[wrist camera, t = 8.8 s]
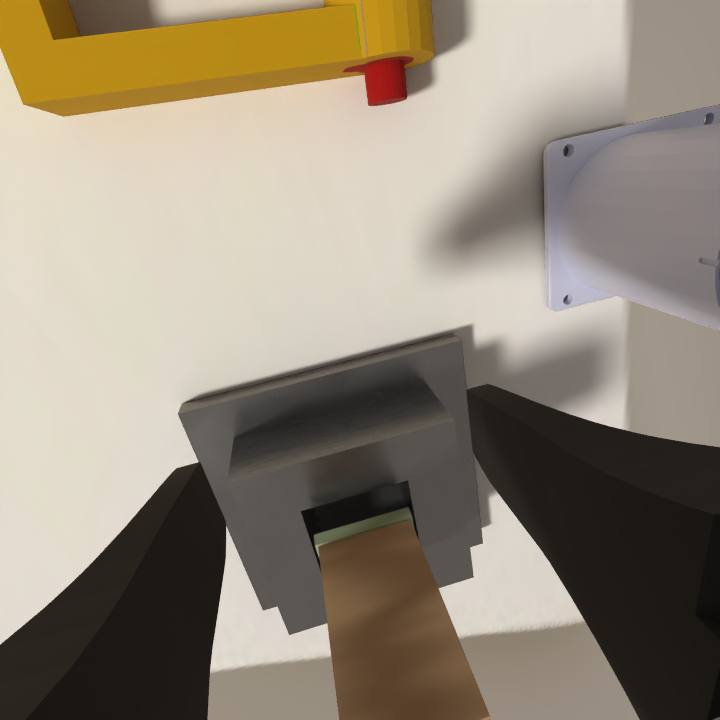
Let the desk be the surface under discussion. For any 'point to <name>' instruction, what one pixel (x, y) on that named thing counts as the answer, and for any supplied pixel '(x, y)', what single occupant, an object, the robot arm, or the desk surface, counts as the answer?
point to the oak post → (391, 627)
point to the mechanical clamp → (211, 54)
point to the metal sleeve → (341, 466)
